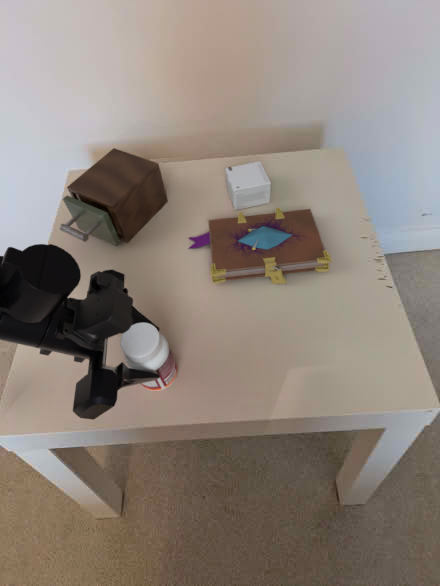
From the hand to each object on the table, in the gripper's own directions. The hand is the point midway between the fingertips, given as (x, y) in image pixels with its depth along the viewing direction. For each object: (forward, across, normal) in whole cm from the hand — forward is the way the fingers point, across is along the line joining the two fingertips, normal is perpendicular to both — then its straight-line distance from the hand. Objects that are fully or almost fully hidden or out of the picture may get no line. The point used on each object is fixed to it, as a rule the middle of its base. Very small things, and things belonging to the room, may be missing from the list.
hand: (158, 353), depth 52 cm
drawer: (-4, +33, +12) cm, 35 cm away
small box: (+18, +38, -8) cm, 42 cm away
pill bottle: (+4, 0, +6) cm, 7 cm away
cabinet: (-1, +37, +10) cm, 39 cm away
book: (+17, +21, -7) cm, 28 cm away
